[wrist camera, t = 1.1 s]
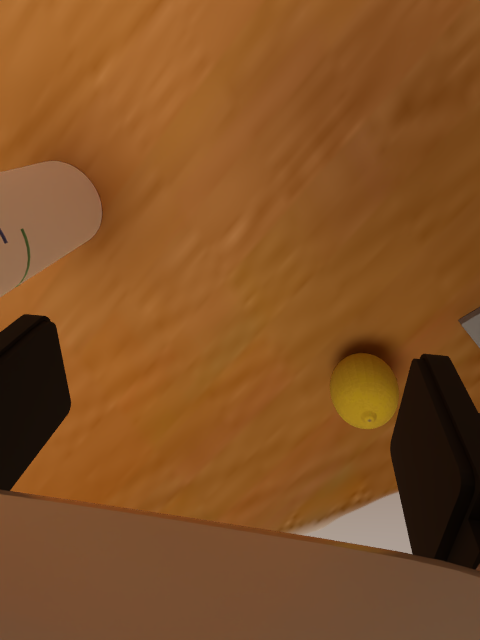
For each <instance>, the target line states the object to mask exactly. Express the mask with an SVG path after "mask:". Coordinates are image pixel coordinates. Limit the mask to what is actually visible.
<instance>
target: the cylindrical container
mask: <svg viewBox="0 0 480 640" xmlns="http://www.w3.org/2000/svg"><path fill="white" fill-rule="evenodd" d="M101 220H102V206H101V201H100V198H99V195H98V193H97V190H96V188H95V187H94V185H93V184H92V182H91V181H90V180H89V179H88V178H87V176H86V175H85V174H84V173H82V172H81V171H80V170H78V169H77V168H75V167H73V166H72V165H70V164H67V163H64V162H60V161H47V162H42V163H37V164H33V165H29V166H25V167H20V168H16V169H12V170H8V171H4V172H0V297H1V296H3V295H5V294H6V293H8V292H9V291H11V290H12V289H14V288H15V287H17V286H19V285H20V284H22V283H23V282H25V281H26V280H28V279H29V278H31V277H33V276H34V275H36V274H37V273H39V272H40V271H42V270H43V269H45V268H46V267H48V266H50V265H51V264H53V263H54V262H56V261H57V260H59V259H60V258H62V257H64V256H65V255H67V254H68V253H70V252H71V251H73V250H74V249H76V248H78V247H79V246H81V245H82V244H84V243H85V242H87V241H88V240H90V239H91V238H92V237H93V236H94V235H95V234H96V232H97V231H98V229H99V227H100V224H101Z"/></svg>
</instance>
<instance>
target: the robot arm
mask: <svg viewBox="0 0 480 640" xmlns="http://www.w3.org/2000/svg"><path fill="white" fill-rule="evenodd" d="M70 407H71V399H70V394H69V389H68V384H67V379H66V374H65V369H64V364H63V359H62V354H61V349H60V344H59V339H58V334H57V329H56V325H55V324H54V323H53V322H51V321H50V319H49V318H48V317H46V316H39V315H29V314H24V315H22V316H21V317H20V318H18V319H17V320H16V321H14V322H13V323H12V324H10V325H9V326H8V327H7V328H5V329H4V330H3V331H1V332H0V640H480V413H478V411H477V410H476V408H475V406H474V404H473V402H472V400H471V398H470V396H469V394H468V392H467V390H466V388H465V387H464V385H463V383H462V381H461V379H460V377H459V375H458V373H457V371H456V369H455V367H454V365H453V364H452V362H451V360H450V358H449V357H448V356H441V355H431V354H423V355H422V356H421V357H420V359H413V361H412V363H411V366H410V370H409V374H408V378H407V382H406V386H405V389H404V393H403V397H402V401H401V405H400V409H399V412H398V416H397V420H396V424H395V428H394V432H393V435H392V439H391V447H390V451H391V458H392V463H393V467H394V472H395V476H396V481H397V485H398V490H399V494H400V499H401V504H402V508H403V512H404V517H405V522H406V526H407V531H408V535H409V540H410V545H411V549H412V553H413V555H412V554H408V553H403V552H398V551H392V550H386V549H381V548H375V547H368V546H363V545H357V544H351V543H345V542H340V541H334V540H328V539H322V538H316V537H310V536H303V535H297V534H291V533H284V532H278V531H271V530H265V529H259V528H252V527H246V526H239V525H233V524H227V523H220V522H214V521H207V520H201V519H194V518H188V517H181V516H175V515H168V514H161V513H155V512H148V511H142V510H135V509H128V508H122V507H115V506H108V505H102V504H95V503H88V502H82V501H75V500H68V499H61V498H54V497H47V496H40V495H33V494H26V493H20V492H13V491H10V490H11V488H12V487H13V486H14V484H15V483H16V482H17V481H18V479H19V478H20V477H21V475H22V474H23V473H24V471H25V470H26V469H27V467H28V466H29V465H30V463H31V462H32V461H33V459H34V458H35V457H36V455H37V454H38V453H39V451H40V450H41V449H42V448H43V446H44V445H45V444H46V442H47V441H48V440H49V438H50V437H51V436H52V434H53V433H54V432H55V430H56V429H57V428H58V426H59V425H60V424H61V422H62V421H63V420H64V418H65V417H66V416H67V414H68V413H69V410H70Z"/></svg>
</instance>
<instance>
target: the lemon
mask: <svg viewBox="0 0 480 640" xmlns="http://www.w3.org/2000/svg"><path fill="white" fill-rule="evenodd" d="M330 394H331V399H332V402H333V404H334V406H335V409H336V411H337V412H338V414H339V415H340V416H341V417H342V418H343V420H344V421H346V422H347V423H349V424H350V425H352V426H355V427H357V428H362V429H372V428H377V427H379V426H382V425H384V424H385V423H386V422H388V421H389V420H390V419H391V417H392V416H393V415H394V413H395V411H396V409H397V406H398V398H399V389H398V384H397V380H396V377H395V375H394V373H393V371H392V370H391V368H390V367H389V366H388V365H387V364H386V363H385V362H384V361H383V360H382V359H380V358H378V357H377V356H374V355H371V354H367V353H357V354H352V355H350V356H347V357H346V358H344V359H343V360H341V361H340V362H339V363H338V364H337V366H336V367H335V369H334V371H333V373H332V375H331V380H330Z"/></svg>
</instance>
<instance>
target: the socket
mask: <svg viewBox="0 0 480 640" xmlns="http://www.w3.org/2000/svg"><path fill="white" fill-rule="evenodd" d="M458 321H459V322H460V324H461V325H462V326H463V327H464V329H465V330H466V331H467V333H468V334H469V335H470V336H471V338H472V339H473V340H474V341H475V343H476V344H477V345H478V346H479V348H480V307H479V308H478V309H476V310H474V311H473V312H471V313H469V314H468V315H466V316H464V317H463V318H461V319H459V320H458Z"/></svg>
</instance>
